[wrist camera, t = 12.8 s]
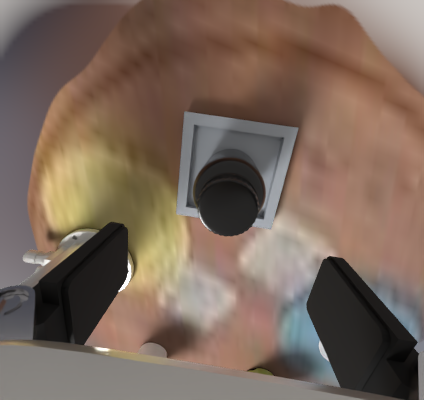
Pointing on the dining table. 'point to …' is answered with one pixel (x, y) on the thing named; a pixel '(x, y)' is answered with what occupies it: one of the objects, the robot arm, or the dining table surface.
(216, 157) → the supplement bottle
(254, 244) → the dining table surface
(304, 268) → the dining table surface
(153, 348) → the dixie cup
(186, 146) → the tray
